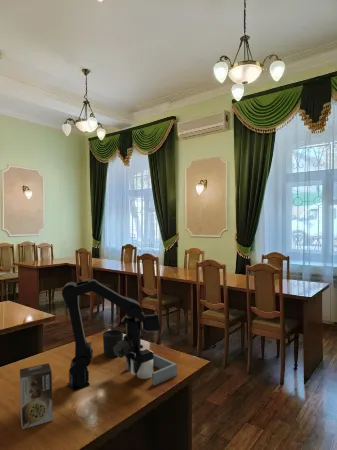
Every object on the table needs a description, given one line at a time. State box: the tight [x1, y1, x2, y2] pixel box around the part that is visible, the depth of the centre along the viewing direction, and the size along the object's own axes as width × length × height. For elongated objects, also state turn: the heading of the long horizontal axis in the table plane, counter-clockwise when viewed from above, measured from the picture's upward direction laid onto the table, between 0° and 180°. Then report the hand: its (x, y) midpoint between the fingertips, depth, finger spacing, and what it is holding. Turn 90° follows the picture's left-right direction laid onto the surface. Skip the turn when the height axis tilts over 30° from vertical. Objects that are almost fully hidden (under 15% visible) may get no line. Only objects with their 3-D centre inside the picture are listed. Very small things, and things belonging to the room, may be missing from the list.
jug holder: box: [125, 353, 178, 386], centre depth 134 cm, size 12×18×4 cm, turn 43°
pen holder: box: [102, 329, 124, 358], centre depth 153 cm, size 9×9×10 cm
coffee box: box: [19, 363, 54, 430], centre depth 102 cm, size 9×6×16 cm
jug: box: [130, 349, 154, 380], centre depth 131 cm, size 10×7×9 cm
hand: (133, 371), depth 128 cm, fingers open, 3 cm apart
